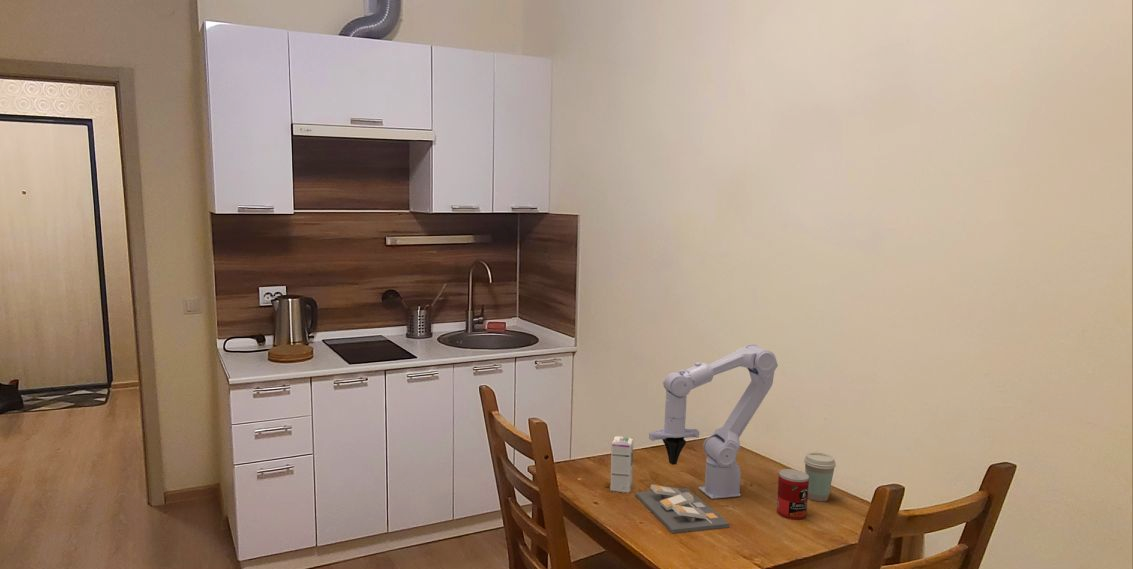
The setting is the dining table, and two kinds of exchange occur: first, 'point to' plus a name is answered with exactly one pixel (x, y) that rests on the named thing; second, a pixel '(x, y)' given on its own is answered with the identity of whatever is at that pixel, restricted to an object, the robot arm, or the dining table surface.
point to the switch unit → (680, 522)
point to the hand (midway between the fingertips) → (672, 463)
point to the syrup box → (621, 464)
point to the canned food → (792, 493)
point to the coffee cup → (819, 475)
